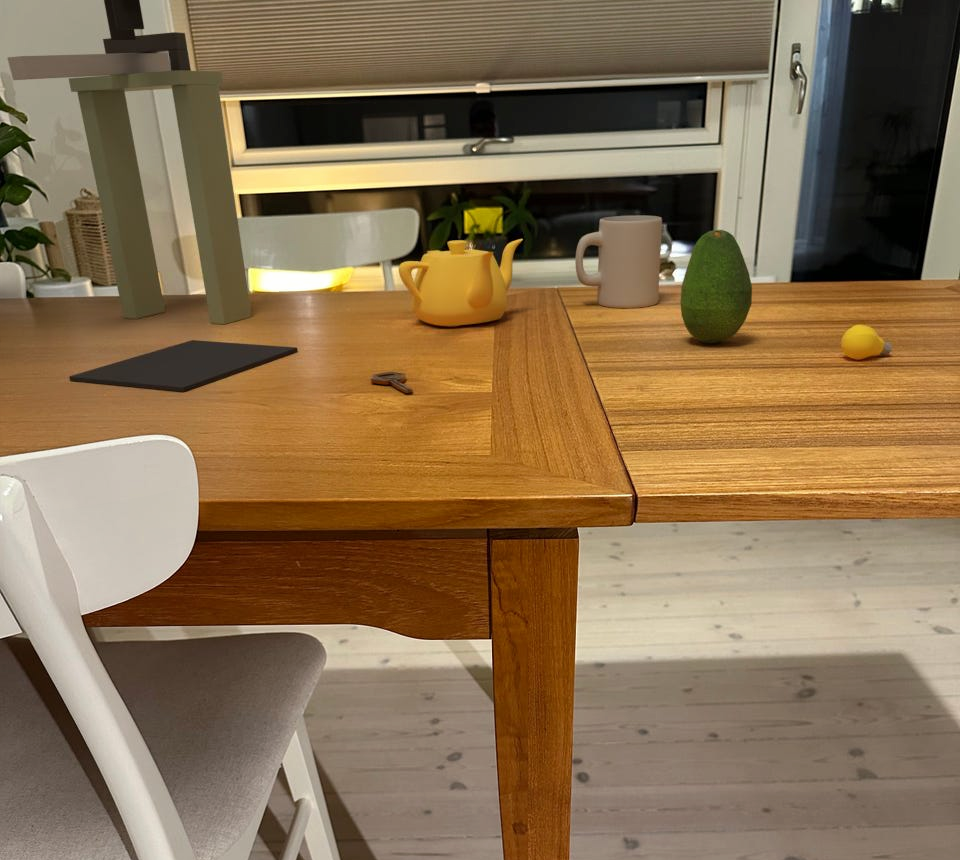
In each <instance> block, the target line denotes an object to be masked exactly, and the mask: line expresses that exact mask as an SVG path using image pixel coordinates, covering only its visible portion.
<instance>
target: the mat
mask: <svg viewBox="0 0 960 860" xmlns="http://www.w3.org/2000/svg"><path fill="white" fill-rule="evenodd" d="M298 351H299V350H298V347H294V346H283V345H282V346H280V345H267V344H254V343H253V344H252V343H240V342H225V341H213V340H212V341H211V340H210V341H209V340H195V339H191V340H188V341H185V342H180V343H177V344H174V345H170V346H167V347H164V348H161V349H157V350H154V351H149V352H147V353H144V354H140V355H137V356H133V357H130V358H127V359H122V360H120V361H117V362H112V363H109V364H106V365H103V366H99V367H96V368H93V369H89V370H86V371H83V372H79V373H75V374H72V375H69V376H68V378H69V381H70V382H80V383H90V384H99V385H108V386H118V387H119V386H120V387H130V388H138V389H139V388H140V389H148V390H150V389H151V390H157V391H159V390H160V391H169V392H180V393H185V392H187V391H191V390H193V389H196V388H199V387H202V386H204V385H208V384H210V383H213V382H216V381H219V380H222V379H224V378H228V377H231V376H233V375H236V374H238V373H241V372H244V371H247V370H251V369H253V368H256V367H258V366H262V365H265V364H267V363H269V362H273V361H275V360H278V359H281V358H284V357H286V356H290V355H292V354H295V353H297V352H298Z"/></svg>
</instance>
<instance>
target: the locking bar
mask: <svg viewBox="0 0 960 860" xmlns="http://www.w3.org/2000/svg"><path fill="white" fill-rule="evenodd" d="M6 59H7V61H8V67H9V69H10V74H11V77H12V80H13V81H25V80H42V79H43V80H45V79H60V78H61V79H63V78H64V79H65V78H81V77H95V76H108V75H122V74H135V73H149V72H162V71H171V65H170V59H169V53H168V52H154V53H118V54H106V53H87V54H56V55H55V54H54V55H53V54H51V55H50V54H49V55H19V56H9V57H7V58H6Z"/></svg>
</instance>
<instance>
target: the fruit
mask: <svg viewBox="0 0 960 860" xmlns="http://www.w3.org/2000/svg"><path fill="white" fill-rule="evenodd" d="M683 276H684V277H683V280H682V282H681V283H682V284H681V287H680V288H681V289H680V303H679V304H680V313H681V318H682V320H683V324H684V326H685V329H686V330H687V331H688V334H690V336H691V337H693V338H694V339H696V340H698V341H699V342H701V343H704V344H717V343H718V344H719V343H721V342H724V341H725V340H726V341H727V340H729V339H730V338H732V337H734V336H735V335H736V334H737V333H738V332H739V330H740V329H741V328H742V326H743V325H744V323H745V321H746V319H747V317H748V315H749V312H750V309H751V306H752V303H753V302H752V301H753V299H752V298H753V296H752V295H753V285H752V282H751V275H750V272H749V269H748V267H747V264H746V261H745V258H744V255H743V252H742V250H741V248H740V245H739V243H738V242H737V239H736V238H735V237H734V235H733V234H732V233H731V232H729V231H727V230H724V229H714V230H709V231H707V232H705V233H704V234H702V235H701V237H699V239H697V241H696V243H695V244H694V246H693V249H692V252H691V254H690V257H689V261H688V264H687V267H686V271H685V273H684V275H683Z"/></svg>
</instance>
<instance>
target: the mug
mask: <svg viewBox="0 0 960 860" xmlns="http://www.w3.org/2000/svg"><path fill="white" fill-rule="evenodd" d="M662 228H663V218H662V217H660V216H656V215H618V216H607V217H602V218H600V219H599V225H598V231H594V232H591V233H587V234H585V235H583V236H581V238H580V239H579V241H578V243H577V246H576V251H575V262H574V263H575V272H576V273H575V274H576V276H577V280H578V281H579V282H580V284H582V285H583V286H586V287H591V288H592V287H595V288H596V287H597V304H598V305H599V306H602V307H605V308H613V309H638V308H639V309H640V308H648V307H652V306H655V305H657V304H658V302H659V298H660V297H659V296H660V269H661V251H662V233H663V232H662V230H663V229H662ZM589 246H597V247H598V262H597V265H598V266H597V272H596V273H593V274H587V272H586V271H585V268H584V254H585V251H586V249H587V247H589Z"/></svg>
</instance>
